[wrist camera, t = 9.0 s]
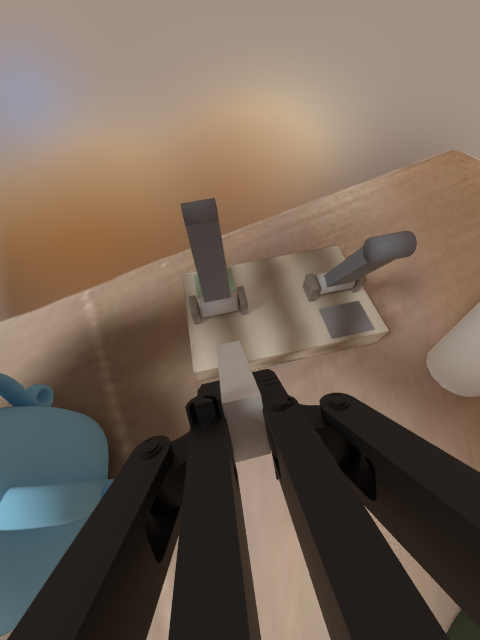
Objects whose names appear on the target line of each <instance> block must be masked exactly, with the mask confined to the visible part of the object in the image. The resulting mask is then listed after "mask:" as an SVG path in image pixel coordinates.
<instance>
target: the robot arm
mask: <svg viewBox="0 0 480 640" xmlns="http://www.w3.org/2000/svg"><path fill="white" fill-rule="evenodd" d="M216 349H217V359H218V369H219V381H215V382H211V383H206V384H202V385H201V387H200V388H199V389H198V394H197V396H196V397H195V398H193V399H191V400H190V401H189V402H188V403H187V405H186V407H185V408H186V412H187V416H188V419H189V423H190V431H189V432H188V433H187V434H185V435H184V436H182V437H180V438H178V439H176V440H174V441H172V442H170V440H169V438H167V437H166V436H155V437H151V438H149V439H147V440H145V441H144V442H142V443H141V444H139V445H138V446H137V447H136V449H135V450H134V451H133V452H132V454H131V455H130V457H129V458H128V460H127V461H126V463H125V464H124V466H123V467H122V469H121V470H120V472H119V473H118V475H117V476H116V478H115V479H114V481H113V482H112V484H111V485H110V487H109V488H108V490H107V491H106V493H105V494H104V496H103V497H102V499H101V500H100V502H99V503H98V505H97V506H96V508H95V509H94V511H93V512H92V514H91V515H90V517H89V518H88V520H87V521H86V522H85V524H84V525H83V527H82V528H81V530H80V531H79V533H78V534H77V536H76V537H75V539H74V540H73V542H72V543H71V545H70V546H69V548H68V549H67V551H66V552H65V554H64V555H63V557H62V558H61V560H60V561H59V563H58V564H57V566H56V567H55V569H54V570H53V572H52V573H51V575H50V576H49V578H48V579H47V581H46V582H45V584H44V585H43V587H42V588H41V590H40V591H39V593H38V594H37V596H36V597H35V599H34V600H33V602H32V603H31V605H30V606H29V608H28V609H27V611H26V612H25V614H24V615H23V617H22V618H21V620H20V621H19V623H18V624H17V626H16V627H15V629H14V630H13V632H12V633H11V635H10V636H9V638H8V639H7V640H146V638H147V635H148V632H149V629H150V626H151V622H152V619H153V616H154V613H155V610H156V606H157V603H158V600H159V597H160V593H161V590H162V587H163V584H164V581H165V577H166V574H167V571H168V568H169V565H170V561H171V558H172V555H173V552H174V548H175V545H176V542H177V539H178V536H179V542H178V551H177V561H176V571H175V580H174V590H173V600H172V609H171V619H170V629H169V638H168V640H261V635H260V628H259V621H258V614H257V607H256V600H255V593H254V586H253V579H252V572H251V565H250V558H249V551H248V544H247V537H246V530H245V523H244V516H243V509H242V502H241V495H240V488H239V481H238V474H237V469H236V465H235V462H239V461H243V460H247V459H251V458H255V457H258V456H262V455H266V454H270V453H271V451H272V456H273V461H274V467H275V473H276V478H277V479H279V481H280V484H281V487H282V490H283V493H284V497H285V500H286V503H287V506H288V509H289V512H290V515H291V518H292V521H293V524H294V527H295V531H296V534H297V537H298V540H299V543H300V546H301V549H302V552H303V555H304V558H305V562H306V565H307V568H308V571H309V574H310V577H311V580H312V583H313V586H314V589H315V592H316V596H317V599H318V602H319V605H320V608H321V611H322V614H323V617H324V620H325V623H326V627H327V630H328V633H329V636H330V639H331V640H449V638H448V637H447V635H446V633H445V632H444V630H443V629H442V627H441V626H440V624H439V622H438V621H437V619H436V618H435V616H434V615H433V613H432V611H431V610H430V608H429V607H428V605H427V604H426V602H425V601H424V599H423V597H422V596H421V594H420V593H419V591H418V590H417V588H416V586H415V585H414V583H413V582H412V580H411V579H410V577H409V575H408V574H407V572H406V571H405V569H404V568H403V566H402V564H401V563H400V561H399V560H398V558H397V557H396V555H395V553H394V552H393V550H392V549H391V547H390V546H389V544H388V542H387V541H386V539H385V538H384V536H383V535H382V533H381V531H380V530H379V528H378V527H377V525H376V524H375V522H374V521H373V519H372V517H371V516H370V514H369V513H368V511H367V510H366V508H367V509H368V510H369V511H370V512H371V513H372V514H373V515H374V516H375V517H376V518H377V519H378V521H379V522H380V523H381V524H382V525H383V526H384V527H385V528H386V529H387V530H388V531H389V532H390V533H391V534H392V535H393V537H394V538H395V539H396V540H397V541H398V542H399V543H400V544H401V545H402V546H403V547H404V548H405V549H406V550H407V551H408V553H409V554H410V555H411V556H412V557H413V558H414V559H415V560H416V561H417V562H418V563H419V564H420V565H421V566H422V567H423V569H424V570H425V571H426V572H427V573H428V574H429V575H430V576H431V577H432V578H433V579H434V580H435V581H436V582H437V583H438V584H439V586H440V587H441V588H442V589H443V590H444V591H445V592H446V593H447V594H448V595H449V596H450V597H451V598H452V599H453V600H454V602H455V603H456V604H457V605H458V606H459V607H460V608H461V609H462V610H463V611H464V612H465V613H466V614H467V615H468V616H469V618H470V619H471V620H472V621H473V622H474V623H475V624H476V625H477V626H478V627H479V628H480V472H478V471H476V470H475V469H473V468H471V467H469V466H468V465H466V464H464V463H463V462H461V461H459V460H458V459H456V458H454V457H453V456H451V455H449V454H448V453H446V452H444V451H443V450H441V449H439V448H438V447H436V446H434V445H433V444H431V443H429V442H428V441H426V440H424V439H423V438H421V437H419V436H418V435H416V434H414V433H413V432H411V431H409V430H408V429H406V428H404V427H403V426H401V425H399V424H398V423H396V422H394V421H393V420H391V419H389V418H388V417H386V416H384V415H382V414H381V413H379V412H377V411H376V410H374V409H372V408H371V407H369V406H367V405H366V404H364V403H362V402H361V401H359V400H357V399H356V398H354V397H352V396H350V395H348V394H344V393H330V394H326V395H325V396H323V397H322V398H321V400H320V405H301V404H299V403H298V401H297V400H296V399H295V398H294V397H291V396H289V395H288V394H287V392H286V391H285V389H284V387H283V386H282V384H281V382H280V381H279V379H278V378H277V376H276V374H275V372H273V371H271V370H269V369H265V370H260V371H256V372H252V371H251V369H250V366H249V364H248V361H247V359H246V356H245V354H244V351H243V349H242V346H241V344H240V341H235V342H230V343H225V344H221V345H216ZM270 448H271V450H270ZM365 507H366V508H365Z"/></svg>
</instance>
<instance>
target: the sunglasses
mask: <svg viewBox="0 0 480 640" xmlns="http://www.w3.org/2000/svg"><path fill="white" fill-rule="evenodd" d="M446 635H447V637H448V638H449V640H480V628H479V627H478V626H477V625H476V624H475V623H474V622H473V621H472V620H471V619H470V618H469V616H468V615H467V614H466V613H465V612H464V611H463V610H462V611H461V612H460V613H459V614H458V616H457V617H456V618H455V620H454V622H453V623H452V625H451V626H450V628H449V630H448V632H447V634H446Z"/></svg>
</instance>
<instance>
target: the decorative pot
mask: <svg viewBox="0 0 480 640" xmlns="http://www.w3.org/2000/svg"><path fill="white" fill-rule="evenodd" d="M0 395H1V396H2V397H3V398H4V399H6V400H7V401H8V402H9V403H10V404H12V405H13V406H14V407H5V408H0V637H1V636H3V635H5V634H7V633H9V632H10V631H12V630H14V629H15V627H16V626H17V624H18V623H19V621H20V620H21V618H22V617H23V615H24V614H25V612H26V611H27V609H28V608H29V606H30V605H31V603H32V602H33V600H34V599H35V597H36V596H37V594H38V593H39V591H40V590H41V588H42V587H43V585H44V584H45V582H46V581H47V579H48V578H49V576H50V575H51V573H52V572H53V570H54V569H55V567H56V566H57V564H58V563H59V561H60V560H61V558H62V557H63V555H64V554H65V552H66V551H67V549H68V548H69V546H70V545H71V543H72V542H73V540H74V539H75V537H76V536H77V534H78V533H79V531H80V530H81V528H82V527H83V525H84V524H85V522H86V521H87V520H88V518H89V517H90V515H91V514H92V512H93V511H94V509H95V508H96V506H97V505H98V503H99V502H100V500H101V499H102V497H103V496H104V494H105V493H106V491H107V490H108V488H109V487H110V485H111V484H112V482H113V481H114V479H108V464H109V455H108V443H107V439H106V436H105V433H104V431H103V429H102V428H101V427H100V426H99V424H98V423H97V422H96V421H94V420H93V419H92V418H90V417H88V416H86V415H84V414H82V413H78V412H75V411H71V410H67V409H62V408H56V407H51V406H52V404H53V401H54V394H53V390H52V389H51V388H50V387H49V386H47V385H43V384H36V385H32V386H30V387H28V388H27V389H25V388H24V387H23V386H22V385H21V384H19V383H18V382H17V381H16V380H14V379H13V378H11V377H9V376H7V375H5V374H2V373H0Z"/></svg>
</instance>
